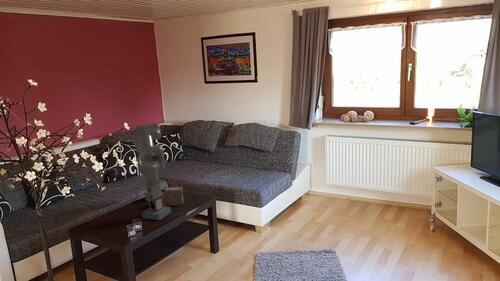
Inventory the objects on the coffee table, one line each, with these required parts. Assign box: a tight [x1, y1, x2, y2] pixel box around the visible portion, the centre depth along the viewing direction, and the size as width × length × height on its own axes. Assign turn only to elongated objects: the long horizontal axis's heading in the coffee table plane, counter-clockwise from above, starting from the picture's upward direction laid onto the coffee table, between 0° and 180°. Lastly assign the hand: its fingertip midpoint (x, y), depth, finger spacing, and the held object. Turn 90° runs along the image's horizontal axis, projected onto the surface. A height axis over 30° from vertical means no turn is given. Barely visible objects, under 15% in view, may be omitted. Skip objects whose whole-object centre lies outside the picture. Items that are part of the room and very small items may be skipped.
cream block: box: [148, 198, 162, 210], centre depth 262 cm, size 6×6×6 cm
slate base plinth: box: [141, 206, 172, 221], centre depth 263 cm, size 14×14×4 cm
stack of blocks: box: [161, 186, 185, 207], centre depth 282 cm, size 21×6×12 cm, turn 89°
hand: (156, 206), depth 262 cm, fingers open, 6 cm apart
